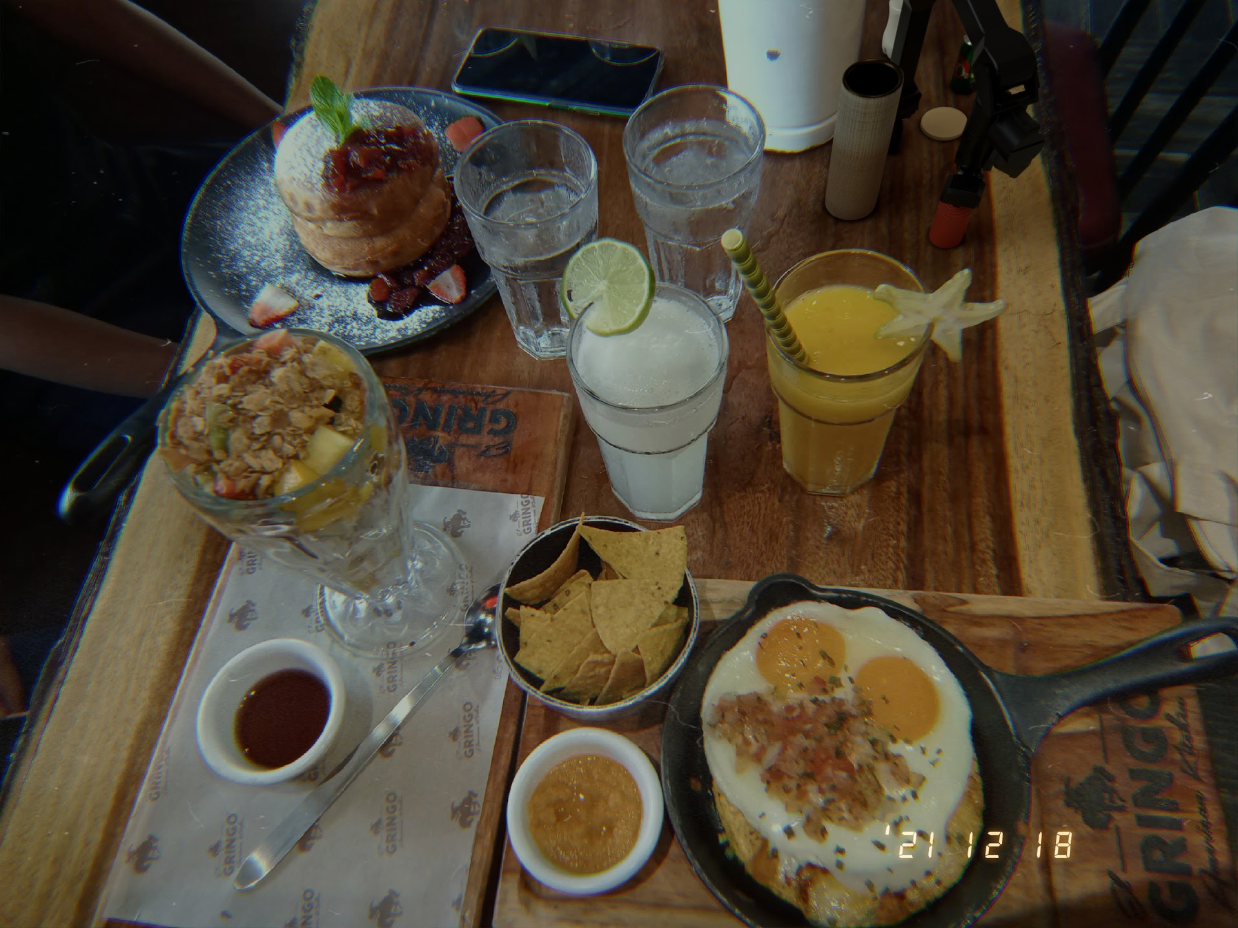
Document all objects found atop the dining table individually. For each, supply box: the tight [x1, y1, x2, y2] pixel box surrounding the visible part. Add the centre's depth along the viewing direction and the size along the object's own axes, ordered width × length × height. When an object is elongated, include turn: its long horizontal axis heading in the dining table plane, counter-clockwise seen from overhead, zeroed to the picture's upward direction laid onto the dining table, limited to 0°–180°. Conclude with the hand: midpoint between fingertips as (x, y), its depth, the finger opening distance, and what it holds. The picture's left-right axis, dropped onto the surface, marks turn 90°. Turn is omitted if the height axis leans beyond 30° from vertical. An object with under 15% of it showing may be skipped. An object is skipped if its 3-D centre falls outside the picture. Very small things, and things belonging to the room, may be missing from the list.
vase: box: [824, 57, 904, 221], centre depth 134 cm, size 10×10×28 cm
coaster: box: [920, 106, 968, 141], centre depth 151 cm, size 9×9×1 cm
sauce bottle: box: [928, 200, 974, 249], centre depth 134 cm, size 6×6×12 cm
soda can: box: [949, 33, 975, 95], centre depth 150 cm, size 5×5×12 cm
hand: (959, 199), depth 131 cm, fingers closed on cap, 4 cm apart
